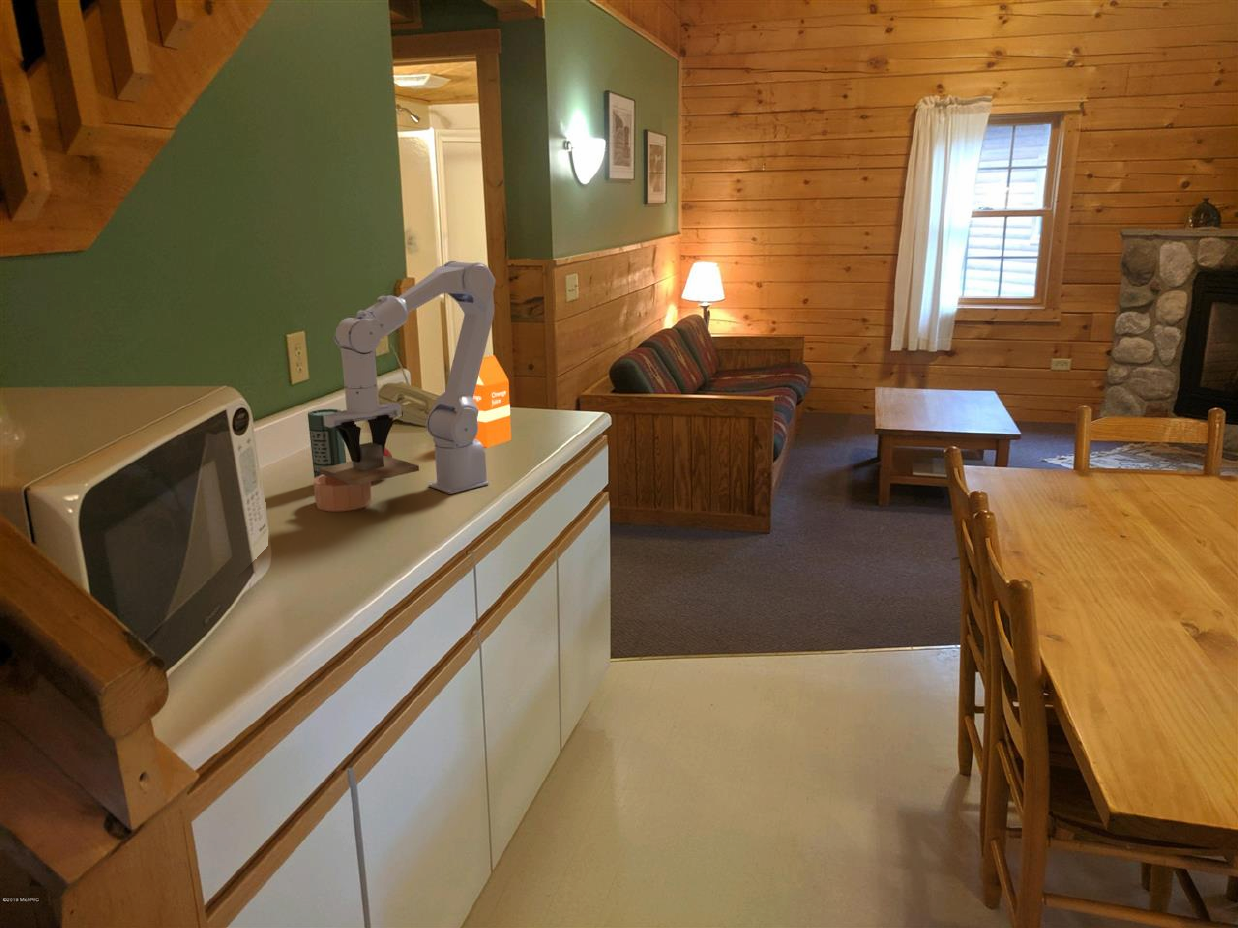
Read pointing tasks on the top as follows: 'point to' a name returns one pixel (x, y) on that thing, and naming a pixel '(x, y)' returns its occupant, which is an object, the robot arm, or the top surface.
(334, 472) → the lid
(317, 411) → the can
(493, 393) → the orange juice
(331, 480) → the pot
